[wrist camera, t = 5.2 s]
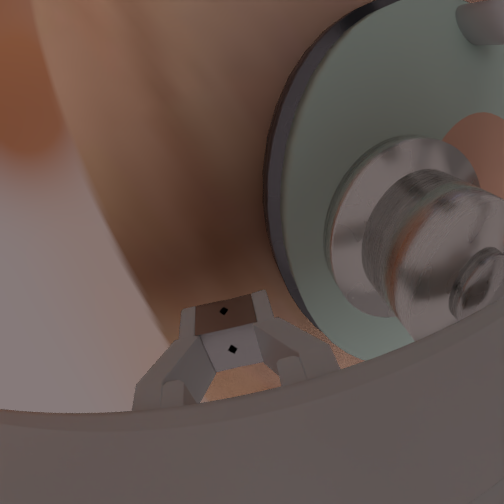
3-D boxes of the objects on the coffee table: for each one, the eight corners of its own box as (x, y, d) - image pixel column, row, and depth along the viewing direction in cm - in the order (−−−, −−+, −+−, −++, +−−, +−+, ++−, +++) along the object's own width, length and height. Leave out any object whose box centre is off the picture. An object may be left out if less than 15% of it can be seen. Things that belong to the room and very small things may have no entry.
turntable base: (214, -2, 10) (215, -13, 9) (523, 36, 11) (535, 37, 9) (294, 376, 22) (298, 390, 20) (511, 286, 22) (520, 293, 21)
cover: (310, 147, 11) (396, 189, 6) (469, 130, 11) (563, 161, 6) (329, 323, 15) (373, 415, 10) (457, 277, 15) (517, 336, 10)
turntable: (229, -9, 9) (248, -93, 3) (537, 41, 9) (597, 50, 4) (305, 388, 20) (330, 464, 14) (520, 293, 20) (558, 329, 15)
